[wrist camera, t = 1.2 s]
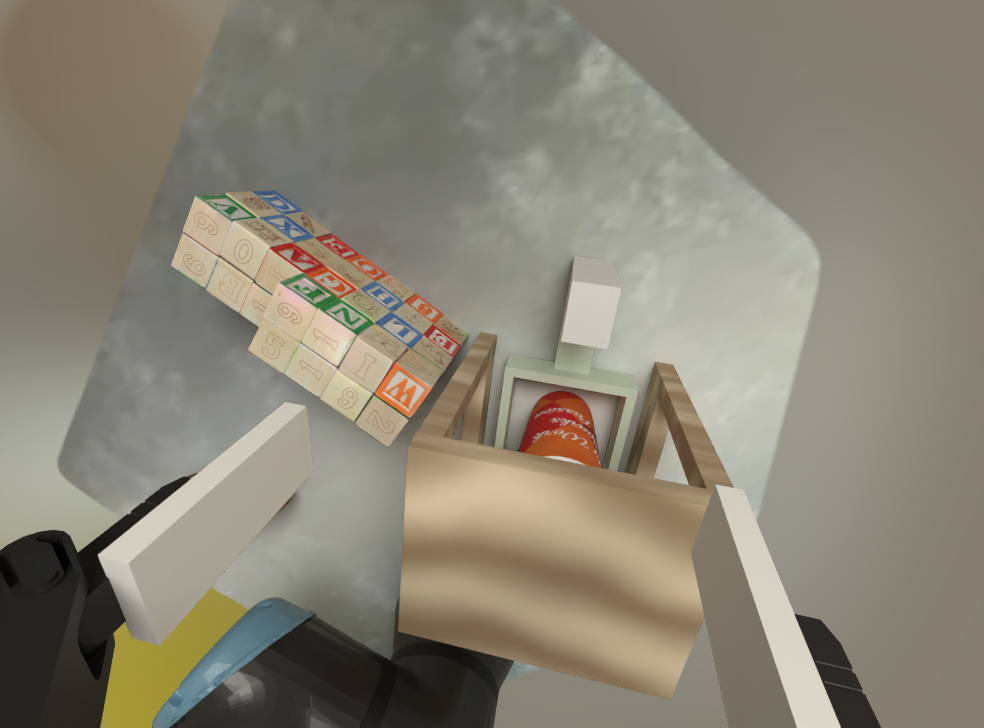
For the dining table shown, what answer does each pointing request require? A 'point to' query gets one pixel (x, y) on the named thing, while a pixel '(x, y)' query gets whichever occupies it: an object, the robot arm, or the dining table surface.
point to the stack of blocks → (319, 308)
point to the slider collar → (580, 353)
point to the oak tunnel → (556, 540)
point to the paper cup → (562, 430)
